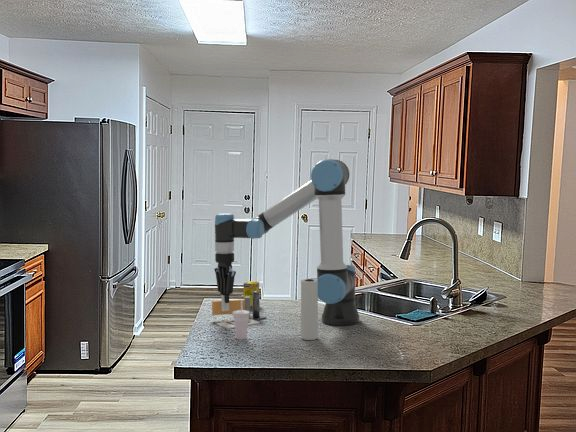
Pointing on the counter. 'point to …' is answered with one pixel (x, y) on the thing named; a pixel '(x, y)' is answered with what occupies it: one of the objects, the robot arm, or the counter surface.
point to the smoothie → (241, 323)
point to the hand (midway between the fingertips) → (225, 310)
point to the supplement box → (250, 290)
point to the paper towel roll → (309, 309)
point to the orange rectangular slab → (231, 306)
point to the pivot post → (256, 307)
